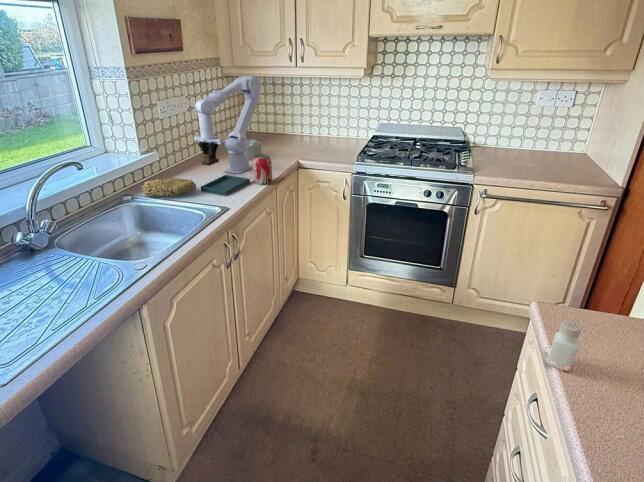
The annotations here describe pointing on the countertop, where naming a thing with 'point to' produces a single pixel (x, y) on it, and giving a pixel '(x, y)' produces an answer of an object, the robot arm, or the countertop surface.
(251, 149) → the lumpy-topped squat cylinder
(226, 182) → the tray
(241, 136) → the robot arm
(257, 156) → the beverage can
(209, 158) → the eraser
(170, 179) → the sponge
